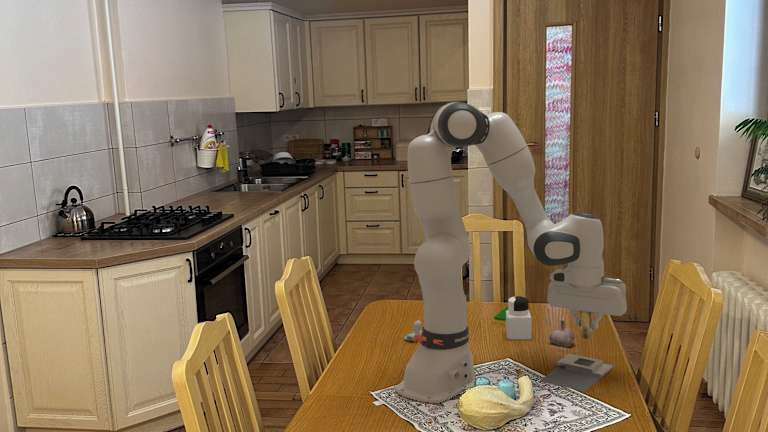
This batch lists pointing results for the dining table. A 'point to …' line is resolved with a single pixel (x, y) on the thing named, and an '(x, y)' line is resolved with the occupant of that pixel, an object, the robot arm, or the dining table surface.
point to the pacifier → (416, 331)
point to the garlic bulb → (562, 336)
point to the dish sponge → (501, 317)
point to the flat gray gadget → (593, 367)
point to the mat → (571, 378)
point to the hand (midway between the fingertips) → (586, 327)
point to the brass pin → (585, 324)
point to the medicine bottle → (518, 319)
